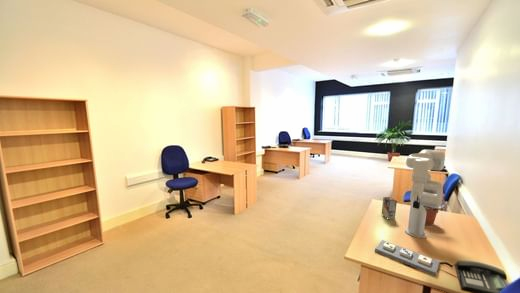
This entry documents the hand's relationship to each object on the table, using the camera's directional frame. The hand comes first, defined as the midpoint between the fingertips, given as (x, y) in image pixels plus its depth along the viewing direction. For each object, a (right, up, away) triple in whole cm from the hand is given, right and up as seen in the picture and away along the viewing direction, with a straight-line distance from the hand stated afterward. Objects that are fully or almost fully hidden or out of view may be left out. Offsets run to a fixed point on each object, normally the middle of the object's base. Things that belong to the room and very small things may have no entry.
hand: (415, 207), depth 139 cm
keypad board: (-10, -28, -6) cm, 31 cm away
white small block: (-11, -28, -6) cm, 30 cm away
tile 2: (-17, -27, 0) cm, 32 cm away
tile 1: (-4, -29, -12) cm, 32 cm away
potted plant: (+35, -23, +40) cm, 58 cm away
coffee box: (+10, -21, +48) cm, 53 cm away
